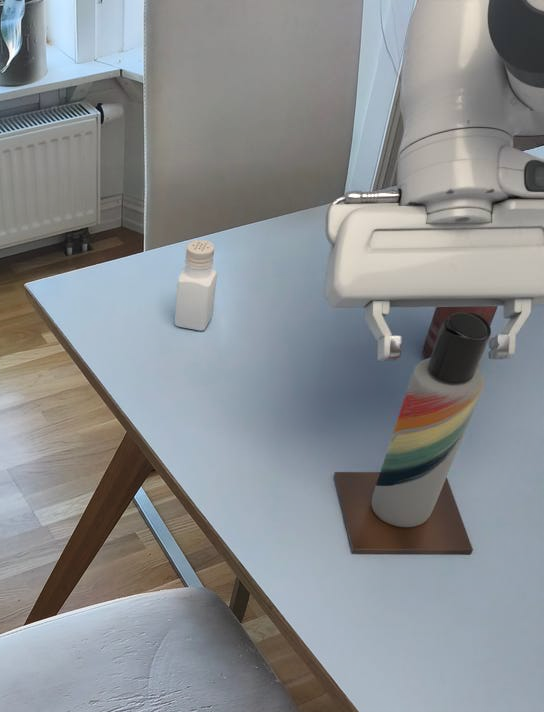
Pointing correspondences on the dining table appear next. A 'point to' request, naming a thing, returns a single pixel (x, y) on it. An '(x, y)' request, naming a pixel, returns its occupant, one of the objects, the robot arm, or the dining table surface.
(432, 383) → the lotion bottle
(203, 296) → the salt shaker
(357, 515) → the walnut board
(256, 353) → the dining table surface
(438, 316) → the can
